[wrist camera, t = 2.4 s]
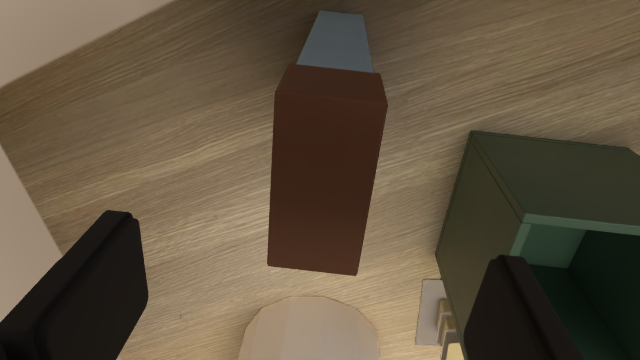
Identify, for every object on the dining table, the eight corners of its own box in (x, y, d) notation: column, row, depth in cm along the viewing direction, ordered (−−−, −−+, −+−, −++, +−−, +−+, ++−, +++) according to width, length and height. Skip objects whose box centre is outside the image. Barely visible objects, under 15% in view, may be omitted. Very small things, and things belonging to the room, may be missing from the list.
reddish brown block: (288, 62, 16) (274, 90, 13) (381, 72, 16) (388, 103, 13) (279, 216, 19) (266, 266, 16) (355, 224, 19) (356, 277, 16)
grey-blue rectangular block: (319, 10, 29) (295, 63, 16) (362, 14, 29) (374, 72, 16) (310, 107, 33) (285, 216, 19) (349, 111, 32) (350, 224, 19)
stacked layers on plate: (414, 344, 44) (422, 393, 40) (423, 279, 40) (433, 324, 35) (512, 347, 44) (533, 397, 39) (532, 281, 39) (558, 328, 35)
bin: (470, 130, 33) (525, 213, 23) (628, 147, 33) (755, 239, 22) (434, 254, 39) (465, 364, 28) (568, 269, 39) (646, 385, 28)
